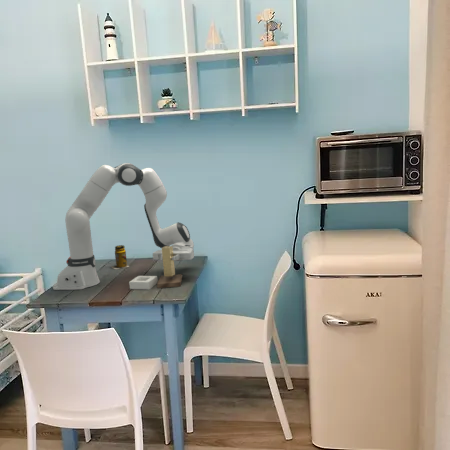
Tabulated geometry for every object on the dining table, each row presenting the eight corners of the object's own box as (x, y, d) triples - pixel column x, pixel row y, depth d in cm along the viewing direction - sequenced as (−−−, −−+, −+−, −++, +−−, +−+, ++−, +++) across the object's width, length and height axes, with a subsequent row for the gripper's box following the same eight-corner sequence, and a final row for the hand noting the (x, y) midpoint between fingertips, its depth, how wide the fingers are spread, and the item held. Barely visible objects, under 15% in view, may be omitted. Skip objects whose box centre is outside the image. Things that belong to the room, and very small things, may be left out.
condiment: (129, 266, 266) (127, 245, 264) (115, 269, 261) (113, 248, 259) (124, 264, 272) (122, 244, 270) (110, 267, 267) (108, 246, 265)
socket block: (129, 289, 223) (129, 281, 223) (139, 282, 233) (138, 275, 232) (149, 289, 220) (148, 282, 220) (157, 282, 230) (157, 276, 229)
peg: (164, 276, 227) (161, 248, 224) (167, 274, 231) (164, 246, 228) (172, 276, 226) (169, 248, 223) (175, 274, 230) (172, 246, 227)
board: (157, 288, 222) (157, 284, 221) (160, 279, 236) (160, 275, 235) (180, 286, 222) (180, 282, 222) (182, 277, 236) (181, 274, 235)
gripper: (158, 246, 241) (146, 252, 228) (195, 245, 236) (186, 252, 223) (159, 257, 242) (148, 265, 229) (196, 257, 237) (187, 265, 224)
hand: (167, 258), depth 226 cm, fingers closed on peg, 4 cm apart
